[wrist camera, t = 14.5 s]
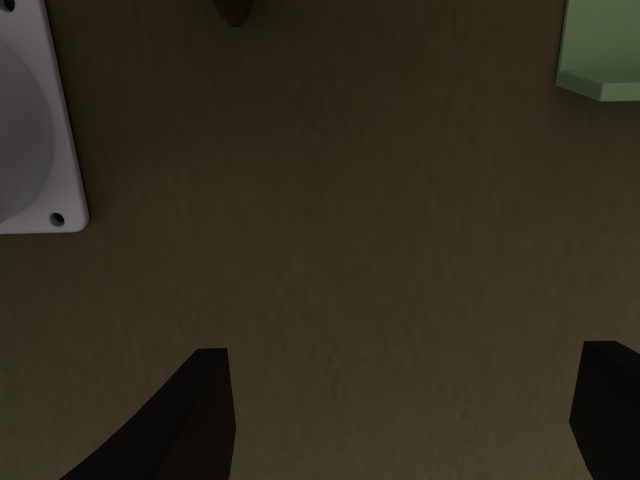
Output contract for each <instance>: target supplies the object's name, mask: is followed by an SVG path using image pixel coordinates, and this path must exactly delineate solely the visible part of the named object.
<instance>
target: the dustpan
mask: <svg viewBox="0 0 640 480" xmlns="http://www.w3.org/2000/svg"><path fill="white" fill-rule="evenodd" d="M555 86H557V87H561V88H564V89H567V90H570V91H572V92H575V93H578V94H581V95H583V96H586V97H589V98H591V99H594V100H597V101H600V102H613V101H640V0H567V2H566V9H565V16H564V24H563V31H562V39H561V46H560V54H559V61H558V69H557V76H556V84H555Z"/></svg>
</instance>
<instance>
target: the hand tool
mask: <svg viewBox="0 0 640 480" xmlns="http://www.w3.org/2000/svg"><path fill="white" fill-rule="evenodd" d="M212 2H213V3H214V5H215V7H216V9H217V10H218V12H219V13H220V15H221V16H222V17H223V18H224V19H225V20H226V21H227V22H228V23H229V24H230V25H231V26H233V27H239V26H241V25H242V24H243V23H244V22H245V21H246V20H247V19H248V17H249V14H250V12H251V10H252V8H253V6H254V2H255V0H212Z"/></svg>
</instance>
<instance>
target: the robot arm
mask: <svg viewBox="0 0 640 480" xmlns="http://www.w3.org/2000/svg"><path fill="white" fill-rule="evenodd" d="M14 1H15V8H14V10H13V11H10V10H9V9H7V7H6V5H5V0H0V234H19V233H61V232H78V231H80V230H82V229H83V228H84V227H85V226H86V225H87V224H88V222H89V213H88V208H87V203H86V198H85V193H84V189H83V184H82V179H81V174H80V169H79V165H78V160H77V155H76V150H75V145H74V141H73V136H72V131H71V126H70V121H69V117H68V112H67V107H66V102H65V97H64V93H63V88H62V83H61V78H60V73H59V69H58V64H57V59H56V54H55V49H54V45H53V40H52V35H51V30H50V25H49V21H48V16H47V11H46V6H45V2H44V0H14ZM55 213H59V214H61V215H62V216H63V218H64V219H65V222H64V223H62V222H59V221H58V220H56V218H55ZM569 423H570V426H571V429H572V431H573V434H574V437H575V439H576V442H577V445H578V447H579V450H580V452H581V454H582V457H583V459H584V462H585V464H586V466H587V469H588V471H589V472H590V474H591V476H592V478H593V480H640V354H639V353H637V352H635V351H634V350H632V349H630V348H628V347H626V346H624V345H622V344H620V343H618V342H617V341H584V344H583V350H582V355H581V360H580V366H579V371H578V376H577V382H576V387H575V392H574V398H573V403H572V408H571V414H570V419H569ZM235 432H236V422H235V413H234V405H233V396H232V387H231V379H230V370H229V361H228V353H227V348H214V349H197V350H196V351H195V352H194V353H193V354H192V355H191V356H190V357H189V358H188V359H187V360H186V361H185V362H184V363H183V364H182V365H181V366H180V368H179V369H178V370H177V371H176V372H175V373H174V374H173V375H172V376H171V377H170V378H169V379H168V381H167V382H166V383H165V384H164V385H163V386H162V387H161V388H160V389H159V390H158V391H157V392H156V393H155V394H154V395H153V396H152V397H151V398H150V399H149V400H148V401H147V402H146V403H145V404H144V405H143V406H142V408H141V409H140V410H139V411H138V412H137V413H136V414H135V415H134V416H133V417H132V418H131V419H130V420H128V421H127V422H126V423H125V424H124V425H123V426H122V427H121V428H120V429H119V430H118V431H117V432H116V433H114V434H113V435H112V436H111V437H110V438H109V439H108V440H107V441H106V442H105V443H104V444H103V445H101V446H100V447H99V448H98V449H97V450H96V451H94V452H93V453H92V454H91V455H90V456H88V457H87V458H86V459H85V460H84V461H82V462H81V463H80V464H79V465H77V466H76V467H75V468H74V469H72V470H71V471H70V472H68V473H67V474H66V475H64V476H63V477H62V478H61V479H59V480H228V479H229V475H230V469H231V462H232V455H233V448H234V440H235Z"/></svg>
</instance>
